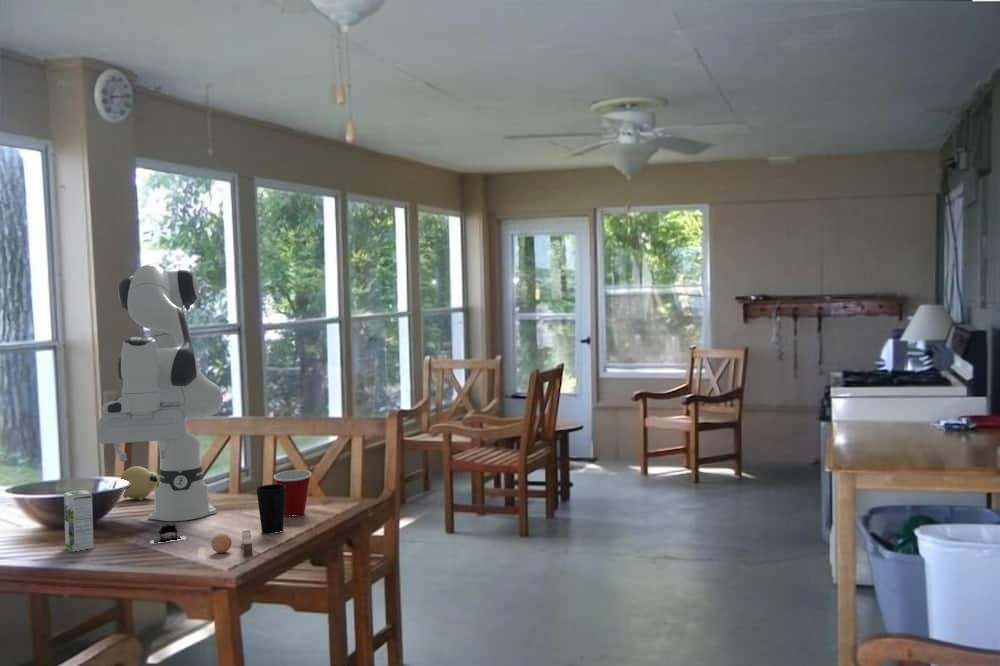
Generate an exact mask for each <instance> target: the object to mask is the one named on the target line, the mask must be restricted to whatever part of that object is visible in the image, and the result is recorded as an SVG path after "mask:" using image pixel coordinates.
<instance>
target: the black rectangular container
mask: <svg viewBox="0 0 1000 666" xmlns="http://www.w3.org/2000/svg"><path fill="white" fill-rule="evenodd" d="M157 533H158V538H154V539H153V538H152V539H153V540H154V543H158V542H166V541H170V540H177V539H181V538H180V536H181V535H178V528H177V526H176V524H175V523H174V522H171V523H162V524H159V528H158V531H157ZM168 533H169V534H170V533H172V534H171V535H167V536H164V535H165V534H168ZM173 534H174V535H173ZM162 535H163V536H162Z"/></svg>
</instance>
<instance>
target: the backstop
mask: <svg viewBox="0 0 1000 666" xmlns="http://www.w3.org/2000/svg"><path fill="white" fill-rule="evenodd" d="M241 531H242V532H241V533H242V534H241V536H242V537H241V539H242V549H243V551H244V552H243V551H242V552H243V557H252V556H253V540H252V533H251V529H247V530H241Z"/></svg>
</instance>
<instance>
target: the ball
mask: <svg viewBox="0 0 1000 666" xmlns="http://www.w3.org/2000/svg"><path fill="white" fill-rule="evenodd" d="M232 543H233V542H232V538H231V537H230V536H229V534H227V533H224V532H223V533H221V532H220V533H218V534H216V535H215V536H214V537H212V539H211V548H212V550H213V551H214V552H215V553H217V554H224V553H227V552H228V551H229V550H230V549H231V547H232Z"/></svg>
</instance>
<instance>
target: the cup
mask: <svg viewBox="0 0 1000 666" xmlns="http://www.w3.org/2000/svg"><path fill="white" fill-rule="evenodd" d="M285 490H286V486H285V485H279V484H277V483H274V484H264V485H260V486H258V487H256V496H257V503H258V511H259V518H260V519H259V521H260V527H261V533H262V532H263V533H262V534H264V533H275V532H280V531H282V532H283V531H284V520H285V515H284V507H285ZM280 533H281V532H280ZM275 534H276V533H275Z"/></svg>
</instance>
